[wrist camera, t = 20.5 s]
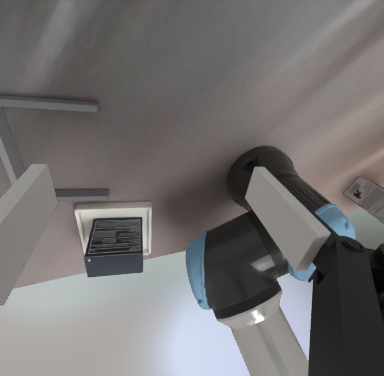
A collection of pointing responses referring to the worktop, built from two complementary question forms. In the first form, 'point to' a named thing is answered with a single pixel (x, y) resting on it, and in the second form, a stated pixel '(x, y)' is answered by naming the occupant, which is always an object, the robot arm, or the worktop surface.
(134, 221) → the small box
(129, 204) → the tray
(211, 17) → the worktop surface
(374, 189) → the coffee box
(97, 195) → the bay
